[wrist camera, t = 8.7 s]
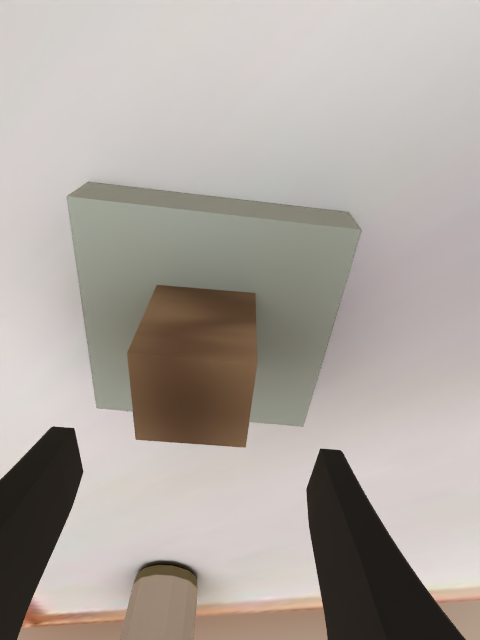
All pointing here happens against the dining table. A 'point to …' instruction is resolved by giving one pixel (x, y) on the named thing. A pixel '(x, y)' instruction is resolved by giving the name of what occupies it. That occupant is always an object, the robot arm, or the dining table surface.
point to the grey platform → (212, 280)
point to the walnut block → (194, 366)
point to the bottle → (161, 605)
